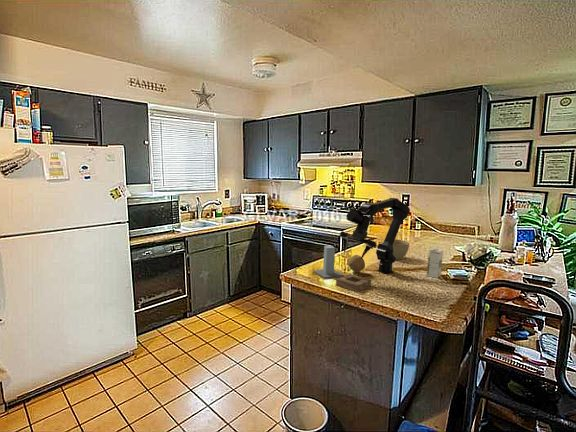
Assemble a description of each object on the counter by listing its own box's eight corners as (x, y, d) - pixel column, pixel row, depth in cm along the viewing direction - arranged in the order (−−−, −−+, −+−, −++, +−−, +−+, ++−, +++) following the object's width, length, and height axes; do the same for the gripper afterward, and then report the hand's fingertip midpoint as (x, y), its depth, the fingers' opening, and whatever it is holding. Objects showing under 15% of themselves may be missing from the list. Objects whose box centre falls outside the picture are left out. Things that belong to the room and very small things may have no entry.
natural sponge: (343, 272, 180) (344, 254, 178) (354, 269, 186) (355, 252, 184) (357, 276, 173) (358, 257, 172) (367, 273, 179) (368, 255, 177)
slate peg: (330, 271, 177) (332, 245, 175) (333, 273, 173) (334, 247, 171) (323, 271, 176) (324, 246, 174) (325, 274, 172) (326, 248, 170)
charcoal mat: (332, 270, 183) (332, 268, 182) (344, 276, 172) (344, 274, 172) (313, 272, 178) (313, 270, 178) (324, 279, 167) (324, 277, 167)
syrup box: (429, 273, 180) (431, 248, 178) (441, 276, 177) (443, 249, 175) (426, 276, 176) (428, 249, 174) (438, 278, 172) (440, 251, 170)
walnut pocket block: (349, 279, 167) (350, 274, 167) (370, 285, 159) (371, 279, 158) (336, 285, 158) (336, 279, 158) (357, 291, 150) (357, 285, 150)
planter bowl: (398, 262, 201) (399, 245, 200) (377, 256, 214) (378, 240, 213) (413, 259, 211) (414, 242, 209) (392, 253, 224) (393, 238, 222)
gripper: (342, 218, 165) (332, 248, 164) (379, 230, 158) (369, 260, 157) (346, 222, 175) (336, 250, 174) (380, 233, 168) (371, 261, 167)
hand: (352, 255), depth 168 cm, fingers open, 9 cm apart
